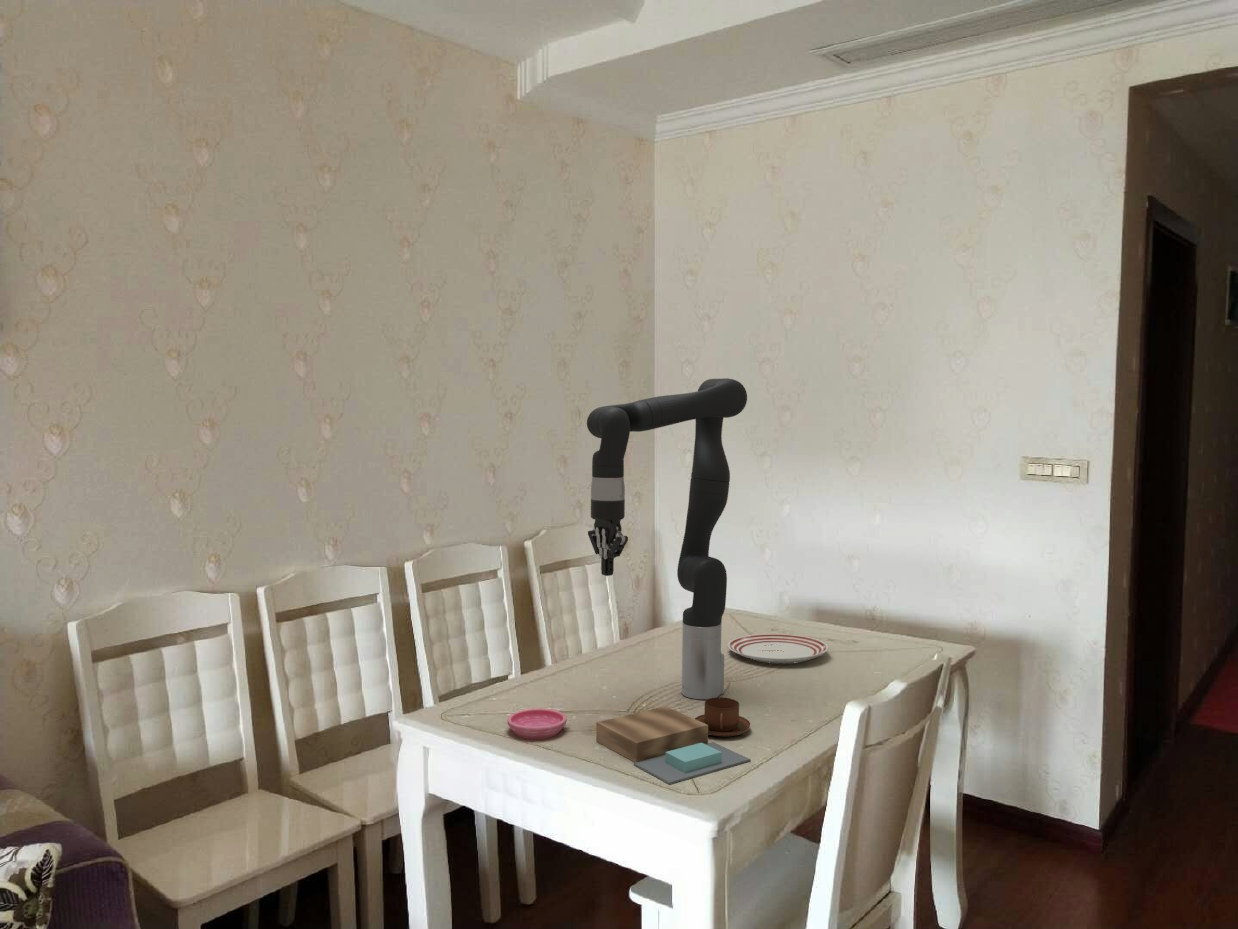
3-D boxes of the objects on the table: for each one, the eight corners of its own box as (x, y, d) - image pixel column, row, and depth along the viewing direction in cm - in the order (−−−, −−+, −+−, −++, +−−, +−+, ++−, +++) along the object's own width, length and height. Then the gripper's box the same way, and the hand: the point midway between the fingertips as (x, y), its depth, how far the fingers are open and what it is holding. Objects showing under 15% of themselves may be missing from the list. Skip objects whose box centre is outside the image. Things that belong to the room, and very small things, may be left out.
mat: (713, 744, 191) (713, 742, 191) (750, 761, 182) (750, 759, 182) (633, 765, 180) (633, 763, 180) (669, 784, 171) (669, 782, 171)
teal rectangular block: (721, 752, 180) (721, 762, 180) (701, 742, 185) (701, 752, 185) (684, 762, 175) (684, 772, 175) (665, 752, 180) (665, 762, 180)
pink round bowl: (496, 729, 199) (496, 715, 199) (545, 718, 206) (545, 704, 206) (527, 747, 189) (527, 731, 189) (578, 734, 197) (578, 719, 196)
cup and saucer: (758, 739, 194) (758, 710, 194) (702, 743, 192) (703, 714, 191) (738, 720, 206) (739, 692, 206) (686, 723, 204) (686, 695, 203)
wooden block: (665, 724, 202) (665, 706, 202) (707, 744, 191) (708, 725, 191) (596, 741, 192) (596, 722, 192) (636, 763, 181) (636, 743, 180)
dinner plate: (715, 662, 251) (715, 650, 251) (742, 639, 277) (742, 628, 276) (817, 675, 241) (818, 662, 241) (836, 649, 266) (836, 637, 266)
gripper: (639, 499, 204) (638, 578, 205) (605, 494, 215) (604, 569, 216) (610, 501, 199) (610, 581, 201) (577, 495, 210) (577, 572, 211)
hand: (607, 575), depth 208 cm, fingers closed
